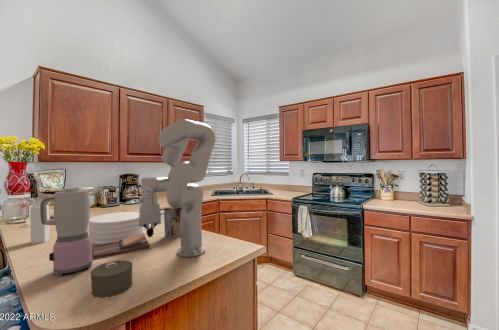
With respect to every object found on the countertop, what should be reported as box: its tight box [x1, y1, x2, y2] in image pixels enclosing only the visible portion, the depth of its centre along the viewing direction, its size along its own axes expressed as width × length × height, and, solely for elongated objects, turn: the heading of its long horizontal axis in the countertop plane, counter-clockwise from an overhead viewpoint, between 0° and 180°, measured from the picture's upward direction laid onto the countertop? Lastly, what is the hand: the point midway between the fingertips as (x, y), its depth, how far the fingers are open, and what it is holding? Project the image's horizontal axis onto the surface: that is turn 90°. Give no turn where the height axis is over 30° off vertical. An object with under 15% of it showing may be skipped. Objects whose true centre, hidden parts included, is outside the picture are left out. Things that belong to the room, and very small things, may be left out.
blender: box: [40, 186, 93, 277], centre depth 92 cm, size 16×12×32 cm
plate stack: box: [88, 211, 146, 245], centre depth 136 cm, size 28×28×12 cm
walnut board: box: [92, 238, 151, 260], centre depth 115 cm, size 16×23×3 cm
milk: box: [29, 200, 51, 245], centre depth 128 cm, size 6×6×22 cm
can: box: [90, 259, 133, 299], centre depth 78 cm, size 12×12×7 cm
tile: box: [120, 232, 147, 247], centre depth 118 cm, size 10×11×1 cm
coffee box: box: [163, 206, 182, 239], centre depth 136 cm, size 9×6×16 cm
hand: (150, 236), depth 122 cm, fingers closed
